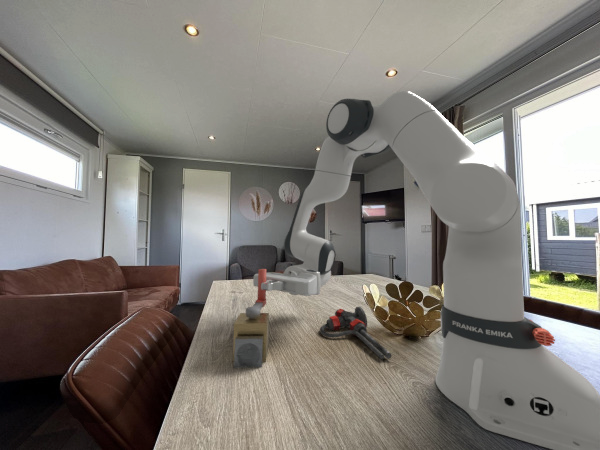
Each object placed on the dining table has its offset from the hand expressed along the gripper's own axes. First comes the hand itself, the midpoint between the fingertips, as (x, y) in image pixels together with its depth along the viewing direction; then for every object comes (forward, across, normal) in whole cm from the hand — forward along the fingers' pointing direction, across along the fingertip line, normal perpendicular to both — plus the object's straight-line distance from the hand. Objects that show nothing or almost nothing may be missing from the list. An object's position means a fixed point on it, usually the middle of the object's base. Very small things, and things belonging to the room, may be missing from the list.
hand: (264, 287), depth 59 cm
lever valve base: (+6, +2, +14) cm, 15 cm away
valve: (-17, +16, +15) cm, 28 cm away
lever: (+3, 0, +5) cm, 6 cm away
